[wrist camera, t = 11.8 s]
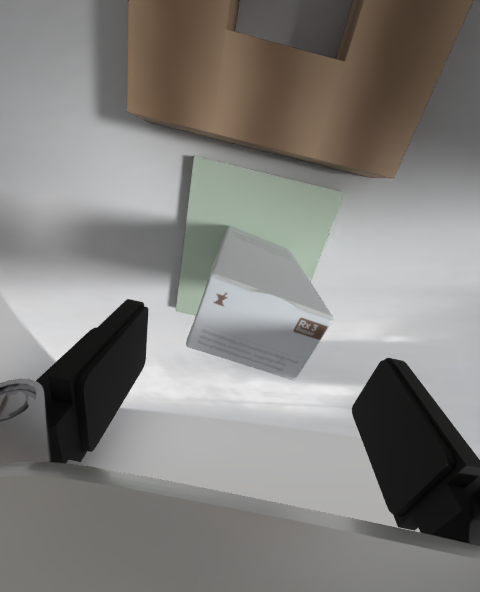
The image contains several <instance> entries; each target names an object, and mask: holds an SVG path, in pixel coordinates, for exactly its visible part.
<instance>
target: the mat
mask: <svg viewBox="0 0 480 592" xmlns="http://www.w3.org/2000/svg"><path fill="white" fill-rule="evenodd" d="M343 195H344V192H341V191H337V190H333V189H328V188H324V187H320V186H316V185H312V184H308V183H304V182H300V181H296V180H292V179H288V178H283V177H279V176H275V175H271V174H267V173H263V172H259V171H255V170H251V169H247V168H243V167H238V166H234V165H230V164H226V163H222V162H218V161H214V160H210V159H206V158H202V157H198V156H194V161H193V169H192V178H191V186H190V194H189V203H188V211H187V220H186V228H185V237H184V245H183V254H182V262H181V271H180V279H179V288H178V296H177V305H176V311H177V312H182V313H187V314H191V315H196V314H197V311H198V308H199V305H200V302H201V299H202V296H203V293H204V290H205V287H206V284H207V281H208V277H209V274H210V272H211V269H212V266H213V264H214V261H215V258H216V256H217V253H218V251H219V248H220V246H221V243H222V241H223V238H224V236H225V233H226V230H227V228H228V226H232V227H234V228H237V229H239V230H242V231H244V232H247V233H249V234H252V235H254V236H257V237H259V238H262V239H264V240H267V241H269V242H272V243H274V244H277V245H279V246H282V247H284V248H287V249H289V250H291V252H292V253H293V255H294V257H295V258H296V260H297V261H298V263H299V264H300V266H301V268H302V269H303V271H304V272H305V274H306V276H307V277H308V279H309V280H310V282H311V280H312V277H313V275H314V272H315V269H316V267H317V264H318V261H319V259H320V256H321V253H322V251H323V248H324V245H325V243H326V240H327V237H328V235H329V232H330V229H331V227H332V224H333V221H334V219H335V216H336V213H337V211H338V208H339V205H340V203H341V200H342V197H343Z"/></svg>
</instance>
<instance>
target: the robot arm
mask: <svg viewBox="0 0 480 592" xmlns="http://www.w3.org/2000/svg"><path fill="white" fill-rule="evenodd" d="M147 324H148V308H147V307H144V303H143V302H139V301H134V300H130V299H127V300H126V301H125V302H124V303H123V304H122V305H121V306H120V307H119V308H117V309H116V310H115V311H114V312H113V313H112V314H111V315H110V316H109V317H108V318H107V319H106V320H105V321H104V322H103V323H102V324H101V325H100V326H99V327H98V328H93V329H92V330H90V331H89V332H88V333H87V334H86V335H85V336H84V337H83V338H82V339H80V340H79V341H78V342H77V343H76V344H75V345H74V346H73V347H72V348H71V349H70V350H69V351H68V352H66V353H65V354H64V355H63V356H62V357H61V358H60V359H59V360H58V361H57V362H56V363H55V364H54V365H52V367H50V368H49V369H48V370H47V371H46V372H45V373H44V374H43V375H42V376H41V377H40V378H38V379H37V380H36V381H33V380H30V379H16V380H9V381H6V382H2V383H0V592H480V460H479V459H478V457H477V456H476V455H475V453H474V452H473V451H472V449H471V448H470V447H469V445H468V444H467V443H466V441H465V440H464V439H463V438H462V436H461V435H460V434H459V432H458V431H457V430H456V428H455V427H454V426H453V424H452V423H451V422H450V420H449V419H448V418H447V416H446V415H445V414H444V412H443V411H442V410H441V409H440V407H439V406H438V405H437V403H436V402H435V401H434V399H433V398H432V397H431V395H430V394H429V393H428V391H427V390H426V389H425V387H424V386H423V385H422V383H421V382H420V381H419V380H418V378H417V377H416V376H415V374H414V373H413V372H412V370H411V369H410V368H409V366H408V365H407V364H406V363H405V362H404V361H401V360H396V359H392V358H386V359H385V360H383V361H381V362H380V363H379V364H378V366H377V368H376V369H375V371H374V372H373V374H372V376H371V377H370V379H369V380H368V382H367V384H366V385H365V387H364V389H363V390H362V392H361V393H360V395H359V397H358V398H357V400H356V401H355V403H354V405H353V407H352V414H353V417H354V420H355V423H356V425H357V428H358V431H359V433H360V436H361V439H362V441H363V443H364V446H365V449H366V452H367V454H368V457H369V460H370V462H371V465H372V468H373V470H374V473H375V476H376V478H377V481H378V484H379V486H380V489H381V491H382V494H383V497H384V499H385V502H386V505H387V507H388V509H389V511H390V512H391V513H392V514H393V515H394V518H395V520H396V523H397V525H398V527H400V528H396V527H391V526H386V525H382V524H377V523H372V522H367V521H363V520H358V519H353V518H349V517H344V516H339V515H334V514H329V513H324V512H320V511H315V510H310V509H305V508H300V507H295V506H290V505H285V504H281V503H276V502H271V501H266V500H261V499H256V498H251V497H246V496H241V495H236V494H231V493H226V492H221V491H216V490H211V489H206V488H201V487H196V486H191V485H186V484H181V483H176V482H171V481H165V480H161V479H156V478H151V477H146V476H140V475H134V474H129V473H122V472H118V471H112V470H107V469H101V468H95V467H89V466H81V465H73V464H66V463H67V461H68V460H73V461H78V462H81V460H82V459H83V457H84V456H85V454H86V452H87V451H90V452H92V451H93V450H94V449H95V447H96V446H97V444H98V443H99V441H100V439H101V437H102V436H103V434H104V433H105V431H106V429H107V427H108V426H109V424H110V422H111V421H112V419H113V418H114V416H115V414H116V412H117V411H118V409H119V408H120V406H121V404H122V403H123V401H124V399H125V398H126V396H127V394H128V393H129V391H130V389H131V388H132V386H133V384H134V383H135V381H136V379H137V378H138V376H139V374H140V373H141V371H142V369H143V367H144V364H145V360H146V342H147ZM418 527H419V529H420V532H421V533H420V532H415V531H410V530H416V529H417V528H418ZM401 528H405V529H410V530H405V529H401Z"/></svg>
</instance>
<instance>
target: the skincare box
mask: <svg viewBox="0 0 480 592" xmlns="http://www.w3.org/2000/svg"><path fill="white" fill-rule="evenodd" d="M332 322H333V316H332V315H331V313H330V312H329V310H328V308H327V307H326V306H325V304H324V302H323V301H322V299H321V297H320V296H319V294H318V293H317V291H316V290H315V288H314V287H313V285H312V283H311V282H310V280H309V279H308V277H307V276H306V274H305V272H304V271H303V269H302V268H301V266H300V264H299V263H298V261H297V260H296V258H295V257H294V255H293V253H292V252H291V250H289V249H287V248H284V247H282V246H279V245H277V244H274V243H272V242H269V241H267V240H264V239H262V238H259V237H257V236H254V235H252V234H249V233H247V232H244V231H242V230H239V229H237V228H234V227H232V226H228V228H227V230H226V233H225V236H224V238H223V241H222V243H221V246H220V248H219V251H218V253H217V256H216V258H215V261H214V264H213V266H212V269H211V272H210V274H209V277H208V281H207V284H206V287H205V290H204V293H203V296H202V299H201V302H200V305H199V308H198V311H197V314H196V317H195V320H194V323H193V325H192V328H191V330H190V333H189V336H188V338H187V342H186V345H187V347H189V348H193V349H196V350H199V351H202V352H206V353H209V354H212V355H215V356H218V357H222V358H225V359H228V360H231V361H234V362H237V363H241V364H244V365H247V366H250V367H253V368H256V369H259V370H263V371H266V372H269V373H272V374H275V375H278V376H281V377H285V378H288V379H290V380H296V378H297V376H298V375H299V373H300V371H301V370H302V368H303V367H304V365H305V363H306V362H307V360H308V359H309V357H310V355H311V354H312V352H313V351H314V349H315V348H316V346H317V344H318V343H319V341H320V340H321V338H322V337H323V335H324V334H325V332H326V330H327V329H328V327H329V326H330V324H331V323H332Z"/></svg>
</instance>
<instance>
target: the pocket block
mask: <svg viewBox="0 0 480 592" xmlns="http://www.w3.org/2000/svg"><path fill="white" fill-rule="evenodd" d="M472 1H473V0H353V2H352V5H351V8H350V12H349V15H348V18H347V22H346V25H345V29H344V32H343V35H342V39H341V42H340V46H339V49H338V52H337V56H336V59H333V58H330V57H326V56H322V55H319V54H315V53H311V52H308V51H304V50H300V49H297V48H293V47H289V46H285V45H282V44H278V43H274V42H271V41H267V40H263V39H260V38H256V37H252V36H249V35H245V34H241V33H238V32H235V28H236V21H237V15H238V8H239V2H240V0H128V74H127V112H129V113H131V114H133V115H135V116H137V117H139V118H141V119H143V120H145V121H147V122H150V123H154V124H158V125H162V126H166V127H170V128H174V129H178V130H182V131H186V132H190V133H194V134H198V135H202V136H206V137H210V138H214V139H218V140H222V141H226V142H230V143H234V144H238V145H242V146H246V147H250V148H255V149H259V150H263V151H267V152H271V153H275V154H279V155H283V156H287V157H291V158H295V159H299V160H303V161H307V162H311V163H315V164H319V165H323V166H327V167H331V168H335V169H339V170H343V171H347V172H351V173H355V174H359V175H363V176H367V177H371V178H394V176H395V174H396V172H397V169H398V167H399V165H400V163H401V161H402V158H403V156H404V154H405V152H406V149H407V147H408V145H409V143H410V140H411V138H412V136H413V134H414V131H415V129H416V127H417V125H418V122H419V120H420V118H421V116H422V113H423V111H424V109H425V107H426V105H427V102H428V100H429V98H430V96H431V93H432V91H433V89H434V87H435V84H436V82H437V80H438V78H439V75H440V73H441V71H442V69H443V66H444V64H445V62H446V60H447V57H448V55H449V53H450V51H451V49H452V46H453V44H454V42H455V40H456V37H457V35H458V33H459V31H460V28H461V26H462V24H463V22H464V19H465V17H466V15H467V13H468V10H469V8H470V6H471V4H472Z"/></svg>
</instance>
